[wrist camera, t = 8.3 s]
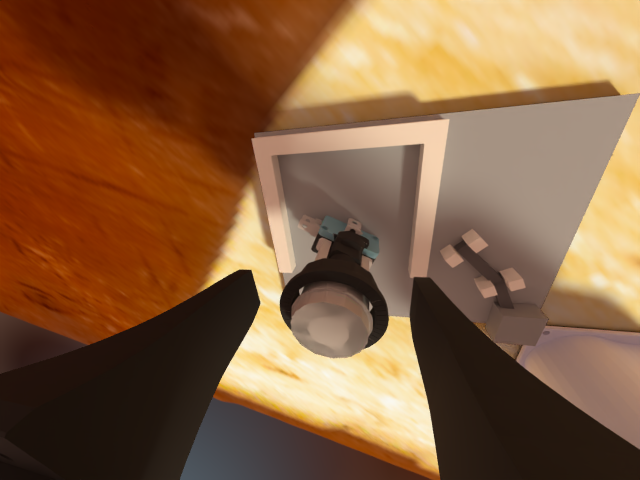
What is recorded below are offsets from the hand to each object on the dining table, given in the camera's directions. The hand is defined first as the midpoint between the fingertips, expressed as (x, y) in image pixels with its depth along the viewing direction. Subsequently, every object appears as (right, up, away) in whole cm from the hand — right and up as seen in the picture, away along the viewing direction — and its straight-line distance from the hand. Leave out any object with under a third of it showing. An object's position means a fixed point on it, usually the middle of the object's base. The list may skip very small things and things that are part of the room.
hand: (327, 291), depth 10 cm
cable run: (+13, -1, +8) cm, 16 cm away
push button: (+1, +3, +9) cm, 10 cm away
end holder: (+2, +4, +8) cm, 9 cm away
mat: (+7, +3, +9) cm, 11 cm away
